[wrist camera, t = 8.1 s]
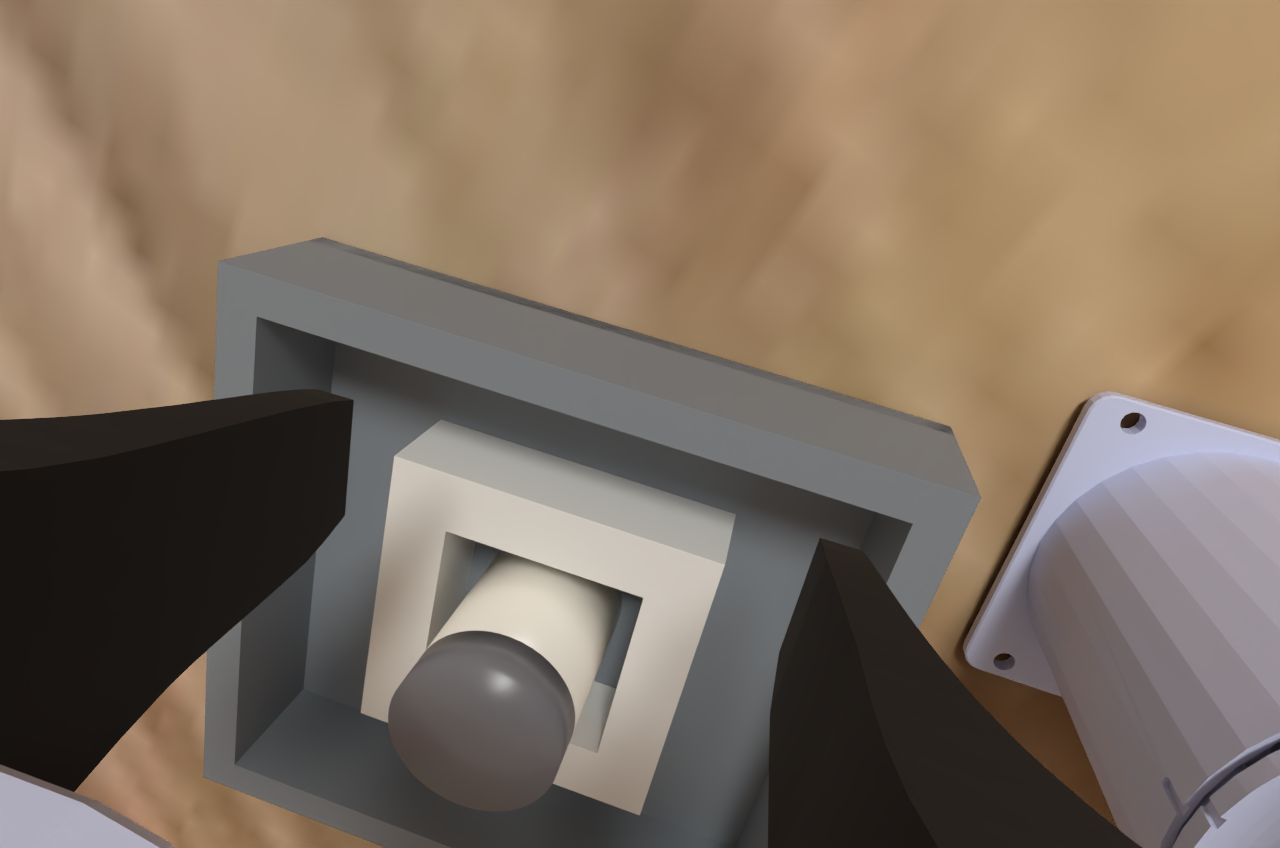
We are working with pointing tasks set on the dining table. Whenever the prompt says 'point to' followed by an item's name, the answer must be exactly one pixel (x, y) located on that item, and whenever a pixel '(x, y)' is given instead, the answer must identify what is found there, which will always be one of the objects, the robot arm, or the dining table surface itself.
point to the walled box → (541, 420)
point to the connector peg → (504, 684)
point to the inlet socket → (566, 540)
